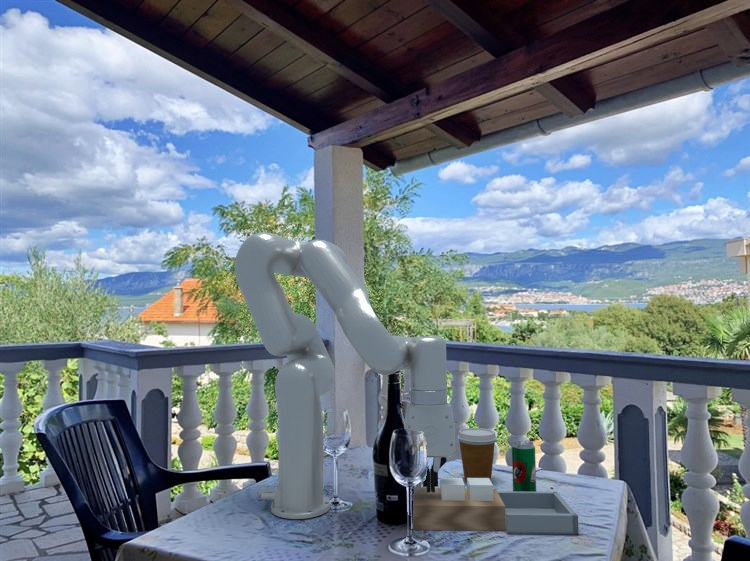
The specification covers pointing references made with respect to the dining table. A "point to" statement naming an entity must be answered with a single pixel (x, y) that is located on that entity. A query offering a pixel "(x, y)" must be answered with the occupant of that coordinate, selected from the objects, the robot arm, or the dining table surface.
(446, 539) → the dining table surface
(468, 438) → the disposable coffee cup
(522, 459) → the soda can
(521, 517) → the tray
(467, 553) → the dining table surface
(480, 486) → the tile
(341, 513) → the dining table surface
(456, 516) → the wooden base board
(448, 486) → the tile
